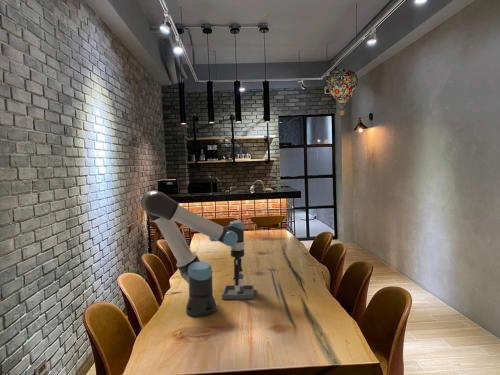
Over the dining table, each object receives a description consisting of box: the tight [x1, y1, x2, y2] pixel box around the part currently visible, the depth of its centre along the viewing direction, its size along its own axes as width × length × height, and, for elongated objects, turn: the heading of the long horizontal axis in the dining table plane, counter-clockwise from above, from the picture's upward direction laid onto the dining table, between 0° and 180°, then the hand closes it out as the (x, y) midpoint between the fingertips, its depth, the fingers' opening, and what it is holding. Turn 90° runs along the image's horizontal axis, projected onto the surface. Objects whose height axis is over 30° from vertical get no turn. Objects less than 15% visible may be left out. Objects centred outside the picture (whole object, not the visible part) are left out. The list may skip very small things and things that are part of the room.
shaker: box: [235, 273, 245, 294], centre depth 206 cm, size 5×5×10 cm
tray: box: [221, 284, 255, 300], centre depth 207 cm, size 17×16×3 cm
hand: (238, 286), depth 206 cm, fingers open, 13 cm apart
